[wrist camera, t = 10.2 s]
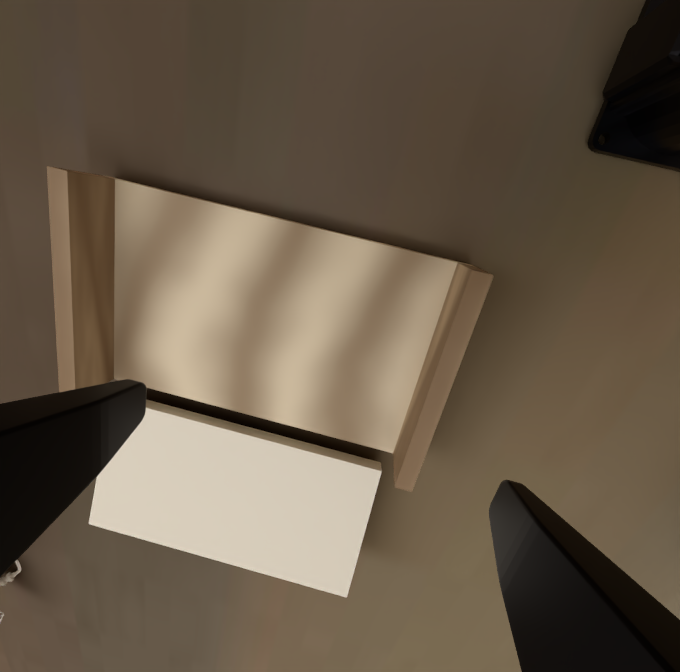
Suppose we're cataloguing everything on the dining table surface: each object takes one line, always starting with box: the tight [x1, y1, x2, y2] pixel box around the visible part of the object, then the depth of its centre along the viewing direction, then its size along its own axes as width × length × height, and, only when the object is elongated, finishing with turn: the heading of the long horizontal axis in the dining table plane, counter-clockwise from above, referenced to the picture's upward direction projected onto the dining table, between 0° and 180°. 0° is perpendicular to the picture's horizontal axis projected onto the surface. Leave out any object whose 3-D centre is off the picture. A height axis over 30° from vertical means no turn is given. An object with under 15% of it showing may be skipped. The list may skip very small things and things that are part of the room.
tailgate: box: [89, 400, 382, 597], centre depth 23 cm, size 18×2×9 cm
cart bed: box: [47, 166, 494, 492], centre depth 19 cm, size 21×12×4 cm, turn 77°
